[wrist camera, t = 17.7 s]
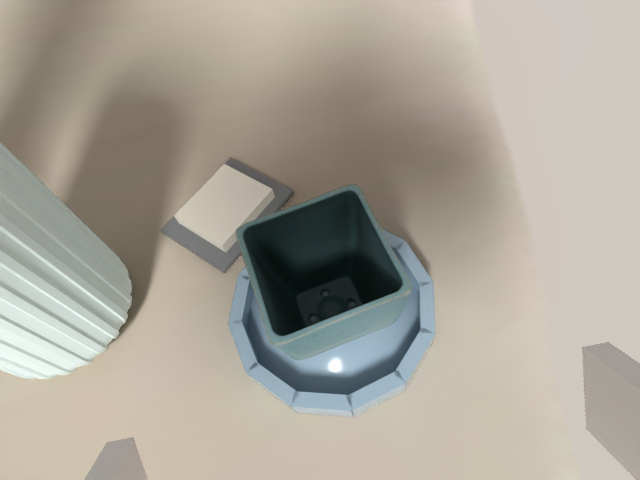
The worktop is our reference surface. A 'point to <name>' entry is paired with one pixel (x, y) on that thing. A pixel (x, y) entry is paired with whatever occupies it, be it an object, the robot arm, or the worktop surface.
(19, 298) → the vase
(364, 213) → the flower pot
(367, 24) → the worktop surface
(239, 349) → the dish
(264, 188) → the mat with cloth
